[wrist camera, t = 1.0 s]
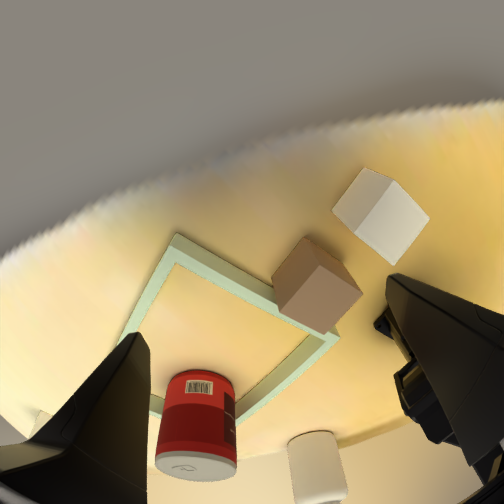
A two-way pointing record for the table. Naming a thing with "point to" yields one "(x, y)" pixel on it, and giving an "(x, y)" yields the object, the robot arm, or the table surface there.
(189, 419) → the canned food
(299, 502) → the pill bottle
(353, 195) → the white block
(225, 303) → the table surface
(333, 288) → the brown carton
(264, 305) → the mint green rectangular frame
